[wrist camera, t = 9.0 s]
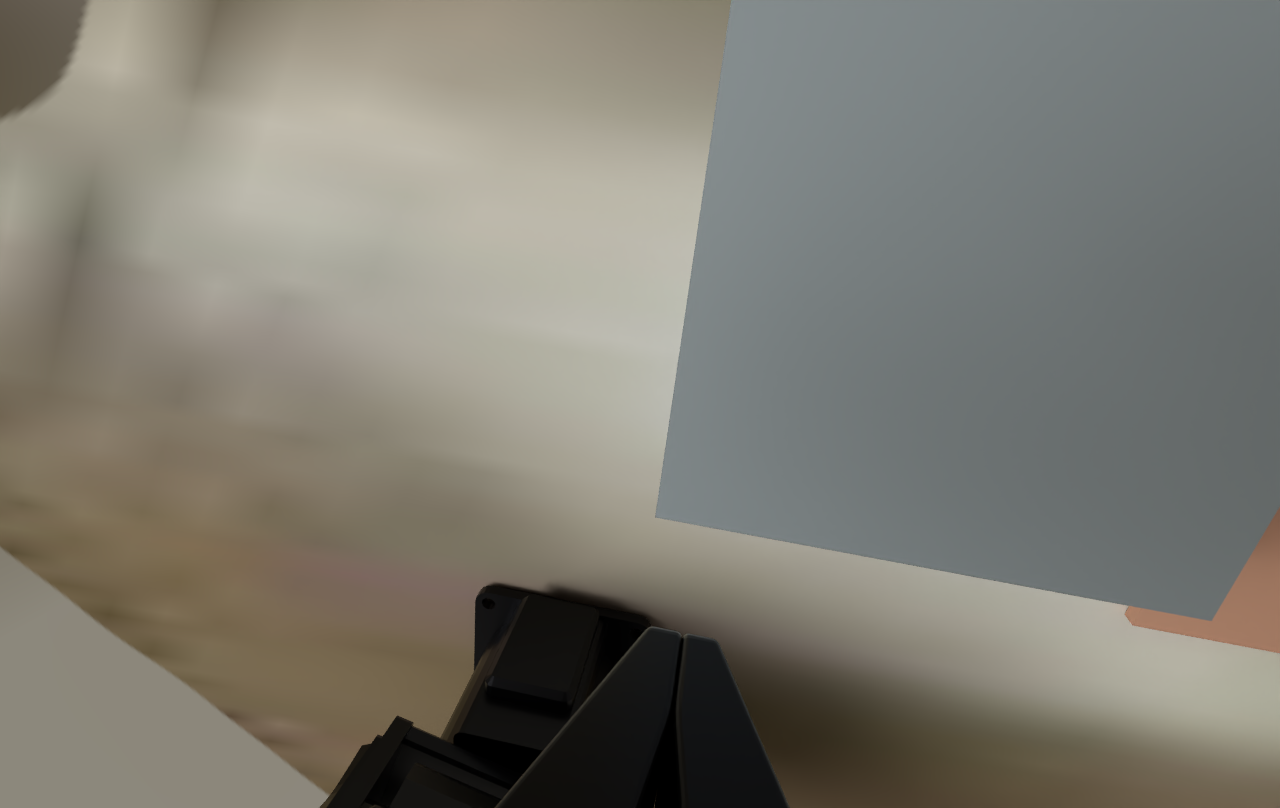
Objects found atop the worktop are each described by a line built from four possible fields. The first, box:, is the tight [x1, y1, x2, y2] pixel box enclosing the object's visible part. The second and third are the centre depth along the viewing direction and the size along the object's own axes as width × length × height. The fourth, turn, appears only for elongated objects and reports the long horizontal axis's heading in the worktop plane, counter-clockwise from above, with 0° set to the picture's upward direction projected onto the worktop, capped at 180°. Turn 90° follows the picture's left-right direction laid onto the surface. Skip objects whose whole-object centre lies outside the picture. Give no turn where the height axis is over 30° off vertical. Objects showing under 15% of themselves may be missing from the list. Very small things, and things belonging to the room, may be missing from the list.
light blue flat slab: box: [655, 0, 1280, 621], centre depth 16 cm, size 14×14×4 cm
